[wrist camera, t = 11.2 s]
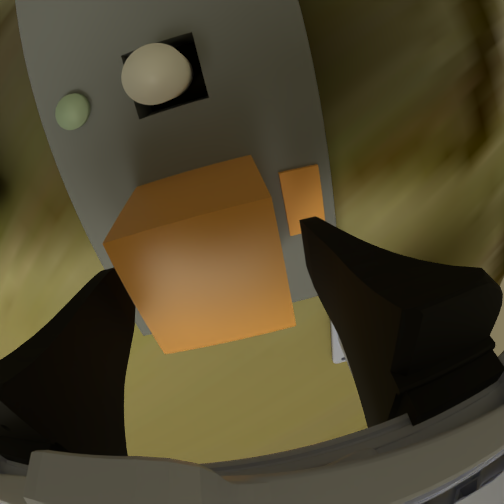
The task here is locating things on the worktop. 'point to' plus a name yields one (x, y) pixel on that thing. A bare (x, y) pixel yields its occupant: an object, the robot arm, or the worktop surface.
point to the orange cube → (203, 257)
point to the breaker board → (180, 107)
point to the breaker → (156, 74)
